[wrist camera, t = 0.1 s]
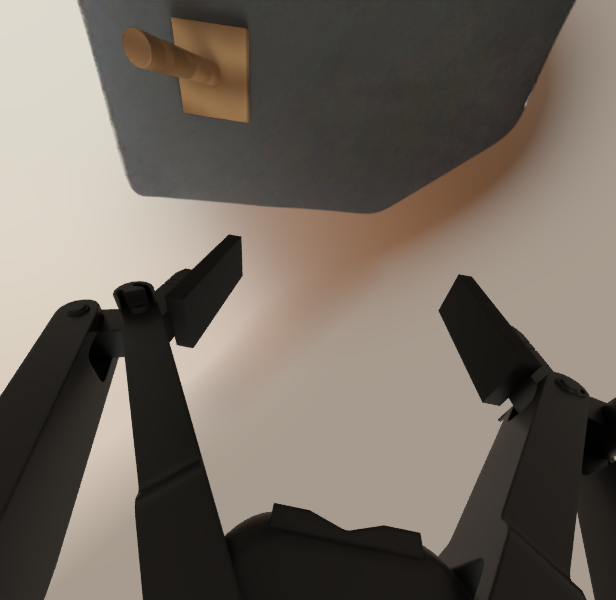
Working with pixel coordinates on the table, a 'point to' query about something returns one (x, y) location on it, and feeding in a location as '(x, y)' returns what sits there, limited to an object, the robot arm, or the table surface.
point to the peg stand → (200, 65)
